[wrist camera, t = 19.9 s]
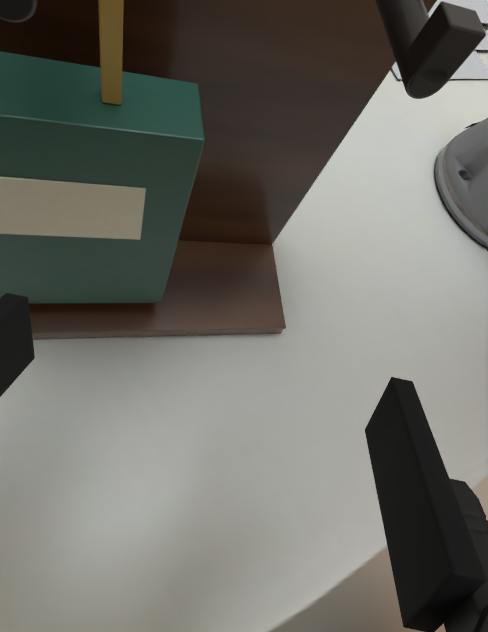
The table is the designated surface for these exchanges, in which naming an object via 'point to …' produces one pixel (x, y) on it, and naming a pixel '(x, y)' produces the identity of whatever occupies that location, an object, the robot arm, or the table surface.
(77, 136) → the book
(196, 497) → the table surface
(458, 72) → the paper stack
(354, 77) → the hook rack
